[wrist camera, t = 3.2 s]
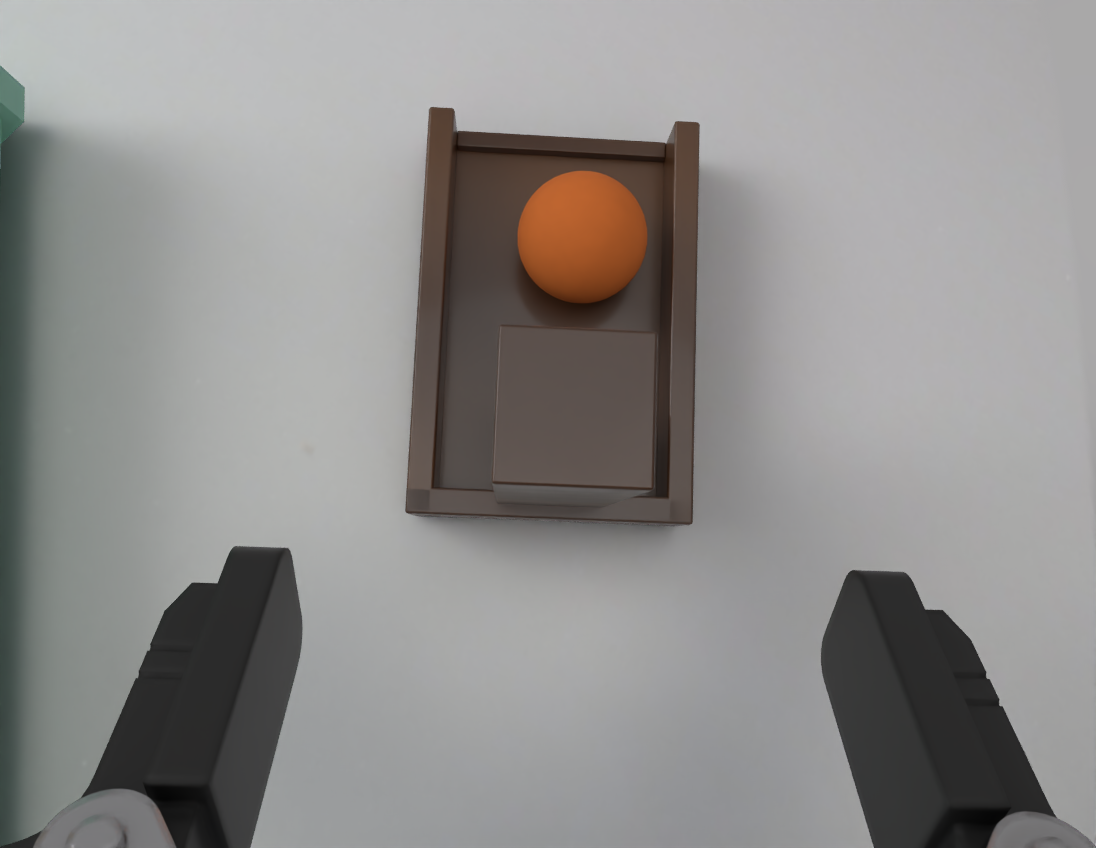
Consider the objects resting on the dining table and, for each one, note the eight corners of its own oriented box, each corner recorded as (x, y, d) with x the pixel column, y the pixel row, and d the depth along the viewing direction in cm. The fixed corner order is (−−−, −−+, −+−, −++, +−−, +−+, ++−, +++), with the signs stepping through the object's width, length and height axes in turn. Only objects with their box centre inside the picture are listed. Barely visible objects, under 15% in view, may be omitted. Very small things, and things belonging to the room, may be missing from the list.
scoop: (435, 144, 23) (391, -104, 14) (682, 158, 23) (792, -78, 14) (414, 515, 22) (350, 499, 13) (675, 526, 22) (789, 517, 13)
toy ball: (598, 227, 23) (650, 148, 21) (626, 327, 22) (686, 255, 20) (489, 221, 22) (531, 136, 19) (513, 327, 21) (561, 251, 18)
